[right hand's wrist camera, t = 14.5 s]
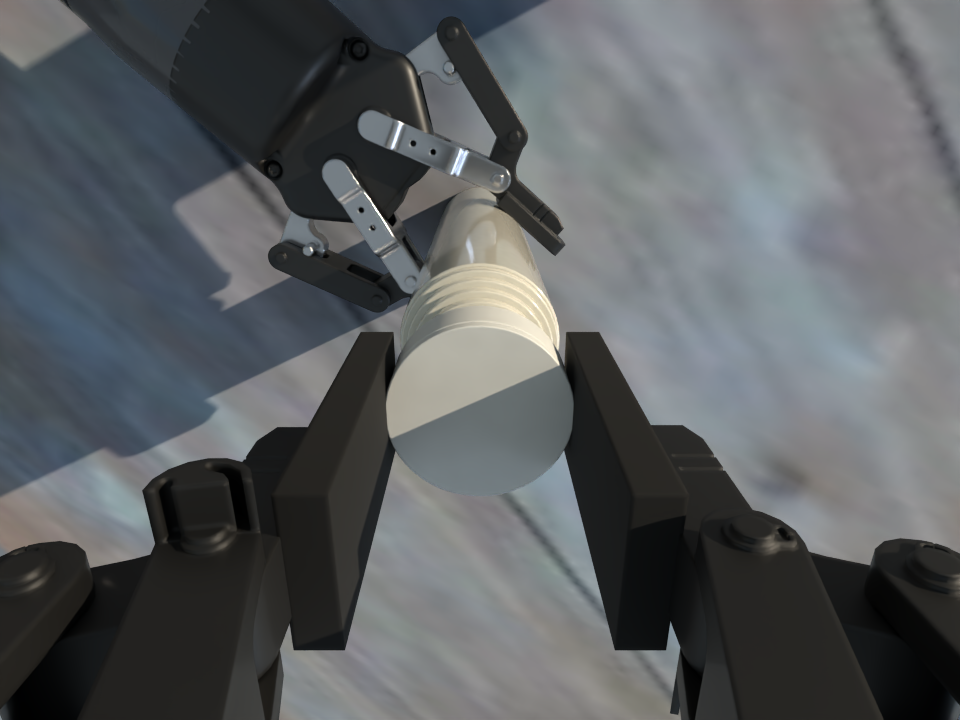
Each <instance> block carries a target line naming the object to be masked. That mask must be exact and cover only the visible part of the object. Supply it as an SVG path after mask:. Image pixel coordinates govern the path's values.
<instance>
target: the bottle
mask: <svg viewBox="0 0 960 720" xmlns="http://www.w3.org/2000/svg"><path fill="white" fill-rule="evenodd" d="M468 306H492V307H498V308H502V309H506V310H509V311H512V312H515V313H517V314H519V315H521V316H523V317H525V318H527V319H529V320H530V321H531V322H533V323H534V324H536V325H537V326H538V327H539V328H540V329H541V330H543V331H544V332H545V333H546V335H547V336H548V337H549V338H550V339H551V341H552V342H553V344H554V345H555V347H556V348H557V350H558V349H559V326H558V322H557V318H556V315H555V312H554V310H553V307H552V304H551V302H550V299H549V297H548V294H547V291H546V289H545V286H544V284H543V281H542V278H541V276H540V273H539V271H538V268H537V266H536V263H535V260H534V258H533V255H532V253H531V250H530V247H529V245H528V242H527V240H526V237H525V234H524V232H523V229H522V227H521V226H520V225H519V224H518V223H517V222H516V221H515V220H514V219H513V218H512V217H511V216H509V215H508V214H507V213H506V212H505V211H504V210H503V209H501V208H500V207H499V206H498V205H497V202H496V197H495V196H494V195H493V194H492V193H491V192H490V191H488V190H486V189H484V188H481V187H476V188H470V189H467V190H464V191H462V192H460V193H459V194H457V195H456V196H455V197H454V198H453V199H452V200H451V201H450V202H449V203H448V205H447V206H446V208H445V210H444V212H443V215H442V217H441V220H440V223H439V225H438V228H437V230H436V233H435V236H434V238H433V241H432V243H431V246H430V248H429V251H428V254H427V256H426V259H425V261H424V264H423V267H422V269H421V272H420V274H419V277H418V280H417V282H416V285H415V287H414V290H413V293H412V295H411V298H410V300H409V303H408V305H407V308H406V311H405V313H404V316H403V319H402V324H401V330H400V347H401V351H402V349H403V347H404V346H405V344H406V343H407V341H408V340H409V338H410V337H411V336H412V335H413V334H414V333H415V332H416V331H417V330H418V329H419V328H420V327H421V326H423V325H424V324H425V323H426V322H428V321H429V320H431V319H433V318H434V317H436V316H438V315H440V314H442V313H445V312H447V311H450V310H453V309H457V308H461V307H468Z"/></svg>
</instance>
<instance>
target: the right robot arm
mask: <svg viewBox="0 0 960 720" xmlns="http://www.w3.org/2000/svg"><path fill="white" fill-rule="evenodd" d="M564 368H565V370H566V373H567V376H568V380H569V382H570V385H571V389H572V393H573V397H574V407H573V423H572V432H571V435H570V439H569V441H568V443H567V445H566V447H565V449H564V451H565V455H566V459H567V463H568V467H569V471H570V475H571V479H572V483H573V487H574V491H575V495H576V499H577V502H578V506H579V510H580V514H581V518H582V522H583V526H584V530H585V534H586V538H587V542H588V546H589V550H590V554H591V558H592V562H593V566H594V570H595V573H596V577H597V581H598V585H599V589H600V593H601V597H602V601H603V605H604V609H605V613H606V617H607V621H608V625H609V629H610V633H611V637H612V641H613V644H614V648H615V650H666V647H667V640H668V633H669V627H670V621H671V624H672V626H673V629H674V631H675V634H676V637H677V639H678V642H679V645H680V647H681V648H680V654H679V660H678V666H677V672H676V679H675V685H674V691H673V697H672V704H671V711H670V713H671V714H677V715H678V713H679V708H680V712H681V720H958V717H959V715H960V553H957V552H955V551H953V550H951V549H950V548H948V547H945V546H942V545H939V544H933V543H932V542H927V541H922V540H912V539H901V538H900V539H894V540H889V541H884V542H883V543H882V544H880V545H879V546H878V547H877V548H876V549H875V551H874V555H873V558H872V562H871V565H865V564H860V563H855V562H851V561H846V560H841V559H836V558H831V557H826V556H822V555H819V554H815V553H811V552H809V551H808V549H807V547H806V545H805V543H804V541H803V540H802V539H801V537H800V536H799V535H798V533H797V532H796V531H795V530H794V529H792V528H791V527H789V526H788V525H787V524H785V523H784V522H782V521H781V520H779V519H777V518H774V517H772V516H770V515H767V514H765V513H763V512H759V511H754V510H752V509H751V507H750V506H749V504H748V503H747V501H746V500H745V499H744V497H743V496H742V494H741V493H740V491H739V490H738V488H737V487H736V486H735V484H734V483H733V481H732V480H731V478H730V477H729V476H728V474H727V473H726V471H723V467H722V465H721V464H720V463H719V461H718V460H717V458H716V457H714V454H713V452H712V451H711V450H710V448H709V447H708V445H707V444H706V442H705V441H704V440H703V438H701V437H700V436H698V435H697V434H695V433H694V432H692V431H690V430H689V429H687V428H686V427H684V426H683V425H650V423H649V421H648V419H647V418H646V416H645V414H644V412H643V410H642V409H641V407H640V405H639V403H638V401H637V400H636V398H635V396H634V394H633V392H632V391H631V389H630V387H629V385H628V383H627V382H626V380H625V378H624V376H623V374H622V373H621V371H620V369H619V367H618V365H617V364H616V362H615V360H614V358H613V356H612V355H611V353H610V351H609V349H608V347H607V346H606V344H605V342H604V340H603V338H602V337H601V335H600V333H599V332H566V348H565V366H564ZM394 369H395V352H394V334H393V332H361V333H360V334H359V336H358V338H357V340H356V342H355V343H354V345H353V347H352V349H351V351H350V352H349V354H348V356H347V358H346V360H345V361H344V363H343V365H342V367H341V369H340V370H339V372H338V374H337V376H336V378H335V379H334V381H333V383H332V385H331V387H330V388H329V390H328V392H327V394H326V396H325V397H324V399H323V401H322V403H321V405H320V406H319V408H318V410H317V412H316V414H315V415H314V417H313V419H312V421H311V423H310V424H309V426H308V427H277V428H276V429H274V430H273V431H271V432H270V433H268V434H267V435H265V436H264V437H262V438H261V439H259V440H257V442H256V443H255V445H254V446H253V447H252V449H251V450H250V452H249V453H248V455H247V456H246V460H243V462H240V461H236V460H232V459H228V458H208V459H203V460H197V461H192V462H187V463H185V464H182V465H179V466H177V467H174V468H171V469H168V470H167V471H165V472H164V473H162V474H160V475H159V476H157V477H155V478H154V479H152V480H151V481H150V483H149V484H148V485H147V486H146V487H145V488H144V489H143V490H142V491H143V495H144V499H145V503H146V507H147V512H148V516H149V520H150V524H151V528H152V532H153V537H154V541H155V546H154V548H153V550H152V552H151V555H147V556H144V557H140V558H136V559H132V560H127V561H122V562H117V563H113V564H108V565H103V566H98V567H93V568H90V566H89V563H88V559H87V556H86V553H85V551H84V550H83V549H82V548H80V547H79V546H78V545H77V544H73V543H67V542H62V541H57V542H46V543H38V544H33V545H28V546H27V547H25V546H24V547H21V548H18V549H15V550H13V551H11V552H9V553H7V554H5V555H3V556H1V557H0V715H1V718H2V720H279V713H280V704H281V695H282V686H283V677H284V674H283V667H282V660H281V654H280V647H281V645H282V642H283V639H284V637H285V634H286V631H287V629H288V626H289V623H290V628H291V635H292V642H293V648H294V650H345V647H346V644H347V640H348V636H349V632H350V628H351V624H352V620H353V616H354V612H355V608H356V604H357V600H358V596H359V592H360V588H361V584H362V580H363V576H364V573H365V569H366V565H367V561H368V557H369V553H370V549H371V545H372V541H373V537H374V533H375V529H376V525H377V521H378V517H379V513H380V509H381V505H382V502H383V498H384V494H385V490H386V486H387V482H388V478H389V474H390V470H391V466H392V462H393V458H394V454H395V448H394V447H393V445H392V442H391V440H390V437H389V435H388V427H387V412H386V394H387V390H388V387H389V384H390V381H391V378H392V375H393V372H394Z"/></svg>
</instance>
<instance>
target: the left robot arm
mask: <svg viewBox="0 0 960 720" xmlns="http://www.w3.org/2000/svg"><path fill="white" fill-rule="evenodd" d="M59 1H60V2H61V3H62V4H63V5H65V6H66V7H67V8H68V9H70V10H71V11H72V12H73V13H75V14H76V15H77V16H78V17H79V18H80V19H81V20H83V21H84V22H85V23H86V24H87V25H88V26H89V27H90V28H91V29H92V30H93V31H94V32H95V33H96V34H97V35H98V36H99V37H100V38H101V39H102V40H103V41H104V42H105V44H106V45H107V46H108V47H109V48H110V49H111V50H112V51H113V52H114V53H115V54H116V55H118V56H119V57H120V58H121V59H122V60H123V61H124V62H125V63H127V64H128V65H129V66H130V67H131V68H133V69H134V70H135V71H136V72H137V73H139V74H140V75H141V76H142V77H144V78H145V79H146V80H147V81H148V82H150V83H151V84H152V85H153V86H155V87H156V88H157V89H158V90H159V91H161V92H162V93H163V94H164V95H166V96H167V97H168V98H169V99H171V100H172V101H173V102H174V103H176V104H177V105H178V106H179V107H180V108H182V109H183V110H184V111H185V112H187V113H188V114H189V115H190V116H192V117H193V118H194V119H195V120H196V121H198V122H199V123H200V124H201V125H203V126H204V127H205V128H206V129H208V130H209V131H210V132H211V133H213V134H214V135H215V136H216V137H217V138H219V139H220V140H221V141H222V142H224V143H225V144H226V145H227V146H229V147H230V148H231V149H232V150H233V151H235V152H236V153H237V154H238V155H240V156H241V157H242V158H243V159H245V160H246V161H247V162H248V163H249V164H251V165H252V166H253V167H254V168H256V169H257V170H258V171H259V172H261V173H262V174H263V175H265V176H266V177H267V178H268V179H270V180H271V181H272V182H273V183H274V184H275V185H276V187H277V188H278V190H279V191H280V193H281V195H282V197H283V199H284V201H285V203H286V205H287V206H288V208H289V209H290V210H291V212H290V215H289V218H288V221H287V223H286V226H285V229H284V232H283V235H282V238H281V240H280V242H279V243H278V244H277V245H275V246H274V247H272V248H271V249H270V251H269V253H268V259H269V262H270V264H271V265H272V266H273V267H274V268H275V269H277V270H280V271H282V272H284V273H286V274H289V275H291V276H293V277H295V278H298V279H300V280H302V281H305V282H307V283H309V284H311V285H314V286H316V287H318V288H320V289H323V290H325V291H327V292H329V293H332V294H334V295H336V296H338V297H341V298H343V299H345V300H348V301H350V302H352V303H354V304H357V305H359V306H361V307H363V308H366V309H368V310H370V311H373V312H382V311H384V310H386V309H387V307H388V306H389V305H391V304H393V303H395V302H397V301H398V300H400V299H402V298H405V297H411V295H412V293H413V290H414V287H415V285H416V282H417V280H418V277H419V274H420V272H421V269H422V267H423V264H424V260H423V258H422V257H421V255H420V254H419V252H418V250H417V249H416V247H415V246H414V244H413V243H412V241H411V239H410V238H409V236H408V234H407V231H406V229H405V227H404V225H403V223H402V222H401V220H400V219H399V217H398V216H397V214H396V212H395V211H396V210H397V209H398V207H399V206H400V205H401V204H402V202H403V201H404V199H405V196H406V194H407V192H408V189H409V187H410V186H412V185H413V184H414V183H416V182H417V181H419V180H420V179H421V178H422V177H423V176H424V175H425V174H426V172H427V171H428V170H429V169H430V167H432V168H435V169H437V170H439V171H442V172H444V173H446V174H449V175H452V176H455V177H458V178H461V179H463V180H465V181H468V182H470V183H472V184H474V185H477V186H479V187H481V188H484V189H486V190H488V191H490V192H491V193H492V194H493V195H494V196H495V197H496V202H497V205H498V206H499V207H500V208H501V209H503V210H504V211H505V212H506V213H507V214H508V215H509V216H511V217H512V218H513V219H514V220H515V221H516V222H517V223H518V224H519V225H520V226H522V227H523V228H524V229H525V230H526V231H527V232H528V233H529V234H531V235H532V236H533V237H534V238H535V239H536V240H537V241H538V242H539V243H541V244H542V245H543V246H544V247H545V248H546V249H547V250H548V251H550V252H551V253H552V254H553V255H555V256H556V255H557V254H558V253H559V251H560V250H561V249H562V248H563V247H564V246H565V243H564V242H563V240H562V239H561V238H560V237H559V236H558V234H559V233H560V232H561V231H562V230H563V229H564V228H563V226H562V224H561V221H560V219H559V217H558V216H557V215H556V214H555V213H554V212H553V211H552V210H551V209H550V208H549V207H548V206H547V205H546V204H544V203H543V202H542V201H541V200H540V199H539V198H538V197H537V196H536V195H535V194H534V193H533V192H531V191H530V190H529V189H528V188H527V187H526V186H525V185H524V184H523V183H522V182H521V181H519V179H518V178H517V175H516V165H517V162H518V159H519V157H520V154H521V152H522V149H523V147H524V146H525V145H526V143H527V140H528V133H527V130H526V128H525V127H524V125H523V123H522V122H521V120H520V118H519V117H518V115H517V113H516V111H515V110H514V108H513V106H512V105H511V103H510V101H509V100H508V98H507V96H506V95H505V93H504V91H503V90H502V88H501V86H500V84H499V83H498V81H497V79H496V78H495V76H494V74H493V73H492V71H491V69H490V68H489V66H488V64H487V63H486V61H485V59H484V58H483V56H482V54H481V52H480V51H479V49H478V47H477V46H476V44H475V42H474V41H473V39H472V37H471V36H470V34H469V32H468V31H467V29H466V27H465V25H464V24H463V22H462V21H461V20H460V19H458V18H456V17H446V18H444V19H443V20H442V21H441V22H440V23H439V25H438V28H437V32H436V33H434V34H433V35H432V36H430V37H429V38H428V39H426V40H425V41H424V42H422V43H421V44H420V45H418V46H417V47H416V48H414V49H413V50H412V51H411V52H409V53H408V54H407V55H404V54H402V53H400V52H397V51H393V50H388V49H385V48H382V47H380V46H378V45H376V44H375V43H374V42H373V41H372V40H371V39H370V38H369V37H367V36H366V35H365V34H364V33H363V32H362V31H361V30H360V29H359V28H358V27H357V26H356V25H354V24H353V23H352V22H351V21H350V20H349V19H348V18H347V17H346V16H345V15H344V14H343V13H341V12H340V11H339V10H338V9H337V8H336V7H335V6H334V5H333V4H332V3H331V2H330V1H328V0H59ZM425 73H431V74H434V75H436V76H437V77H438V78H439V79H440V80H441V81H442V82H443V83H445V84H447V85H455V84H457V83H459V82H460V81H461V80H462V81H463V83H464V84H465V86H466V88H467V89H468V91H469V92H470V94H471V96H472V97H473V99H474V101H475V102H476V104H477V106H478V107H479V109H480V110H481V112H482V114H483V115H484V117H485V119H486V120H487V122H488V123H489V125H490V127H491V128H492V130H493V132H494V133H495V135H496V137H497V138H496V140H495V143H494V146H493V148H492V151H491V154H490V157H488V156H485V155H483V154H481V153H479V152H476V151H474V150H472V149H470V148H468V147H466V146H464V145H462V144H460V143H457V142H455V141H453V140H451V139H448V138H446V137H444V136H441V135H439V134H437V133H435V132H434V131H433V127H432V123H431V119H430V115H429V111H428V107H427V103H426V99H425V95H424V91H423V87H422V82H421V78H420V76H421V75H423V74H425ZM314 219H315V220H327V221H338V222H349V223H354V224H355V225H356V227H357V228H358V230H359V231H360V233H361V234H362V236H363V237H364V239H365V240H366V242H367V243H368V245H369V246H370V248H371V249H372V251H373V252H374V253H375V254H376V255H377V256H378V257H380V258H381V260H382V261H383V263H384V264H385V266H386V267H387V269H388V270H389V273H387V274H385V275H383V274H381V273H379V272H376V271H374V270H372V269H370V268H368V267H365V266H363V265H361V264H359V263H357V262H354V261H352V260H350V259H348V258H346V257H343V256H341V255H339V254H337V253H335V252H332V251H330V250H328V248H329V243H328V240H327V238H326V237H325V236H324V235H323V234H321V233H319V232H318V231H317V230H316V228H315V226H314ZM372 225H373V226H374V228H375V229H374V228H372Z"/></svg>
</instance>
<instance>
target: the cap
mask: <svg viewBox="0 0 960 720" xmlns="http://www.w3.org/2000/svg"><path fill="white" fill-rule="evenodd" d="M573 407H574V397H573V393H572V389H571V385H570V382H569V380H568V376H567V373H566V370H565V368H564V365H563V362H562V359H561V357H560V354H559V352H558V350H557V348H556V347H555V345H554V344H553V342H552V341H551V339H550V338H549V337H548V336H547V335H546V333H545V332H544V331H543V330H541V329H540V328H539V327H538V326H537V325H536V324H534V323H533V322H531V321H530V320H529V319H527V318H525V317H523V316H521V315H519V314H517V313H515V312H512V311H509V310H506V309H502V308H498V307H492V306H468V307H461V308H457V309H453V310H450V311H447V312H445V313H442V314H440V315H438V316H436V317H434V318H433V319H431V320H429V321H428V322H426V323H425V324H424V325H423V326H421V327H420V328H419V329H418V330H417V331H416V332H415V333H414V334H413V335H412V336H411V337H410V338H409V340H408V341H407V343H406V344H405V346H404V347H403V349H402V351H401V353H400V355H399V357H398V360H397V363H396V366H395V369H394V372H393V375H392V378H391V381H390V384H389V387H388V390H387V394H386V412H387V427H388V435H389V437H390V440H391V442H392V445H393V447H394V448H395V450H396V452H397V453H398V455H399V456H400V458H401V459H402V460H403V462H404V463H405V464H406V465H407V466H408V467H409V468H410V469H411V470H412V471H413V472H414V473H415V474H417V475H418V476H419V477H421V478H422V479H423V480H425V481H427V482H428V483H430V484H432V485H434V486H436V487H438V488H440V489H443V490H446V491H449V492H452V493H456V494H462V495H468V496H491V495H498V494H503V493H507V492H511V491H514V490H516V489H519V488H521V487H524V486H525V485H527V484H529V483H531V482H533V481H534V480H536V479H537V478H539V477H540V476H542V475H543V474H544V473H545V472H546V471H547V470H548V469H550V468H551V467H552V465H553V464H554V463H555V462H556V461H557V460H558V458H559V457H560V455H561V454H562V452H563V451H564V449H565V447H566V445H567V443H568V441H569V439H570V435H571V432H572V423H573Z"/></svg>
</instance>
